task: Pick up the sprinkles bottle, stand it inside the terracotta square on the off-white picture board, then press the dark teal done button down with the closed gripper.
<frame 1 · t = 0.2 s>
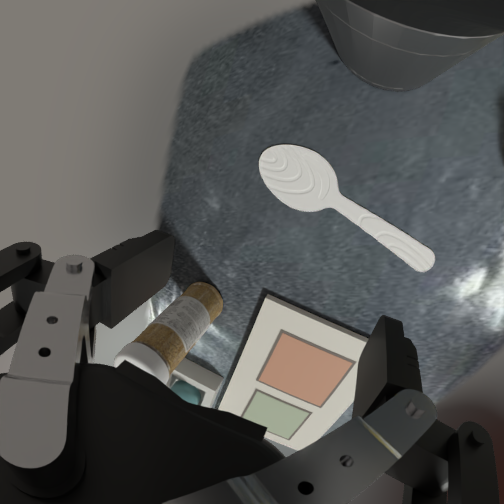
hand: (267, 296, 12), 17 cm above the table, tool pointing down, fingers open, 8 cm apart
button housing: (194, 380, 41), on the table
done button: (183, 396, 38), point 3 cm above the table, slide at 0.0 cm
spoon: (351, 208, 27), on the table
sprinkles bottle: (206, 297, 35), on the table
picture board: (291, 388, 36), on the table
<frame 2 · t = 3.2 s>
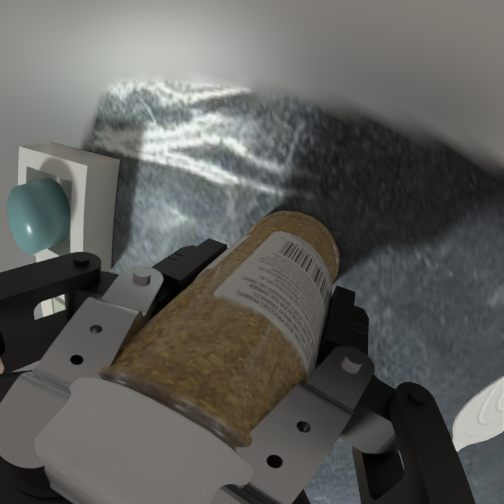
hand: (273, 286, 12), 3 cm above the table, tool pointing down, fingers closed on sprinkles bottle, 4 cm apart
button housing: (76, 202, 19), on the table
done button: (37, 215, 16), point 3 cm above the table, slide at 0.0 cm
spoon: (443, 448, 17), on the table
sprinkles bottle: (293, 255, 15), on the table, touching gripper
picture board: (148, 379, 22), on the table
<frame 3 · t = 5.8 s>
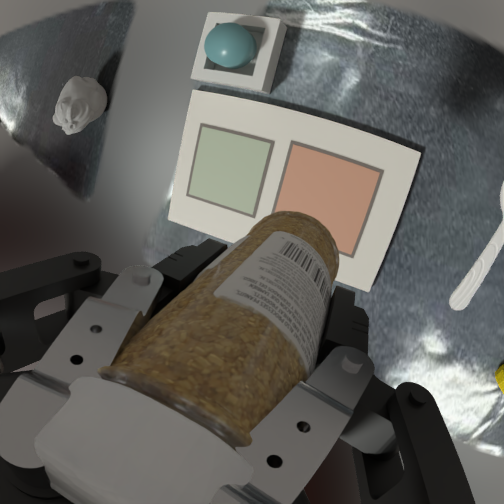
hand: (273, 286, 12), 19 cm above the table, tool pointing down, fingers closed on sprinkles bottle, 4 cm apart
button housing: (243, 54, 27), on the table
done button: (230, 45, 24), point 3 cm above the table, slide at 0.0 cm
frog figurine: (102, 104, 33), on the table
spoon: (498, 234, 25), on the table
sprinkles bottle: (293, 255, 15), point 15 cm above the table, touching gripper
picture board: (284, 184, 30), on the table
when the fingers open (6 cm above the table, at t = 8.6 s): sprinkles bottle drops 1 cm, resting on picture board.
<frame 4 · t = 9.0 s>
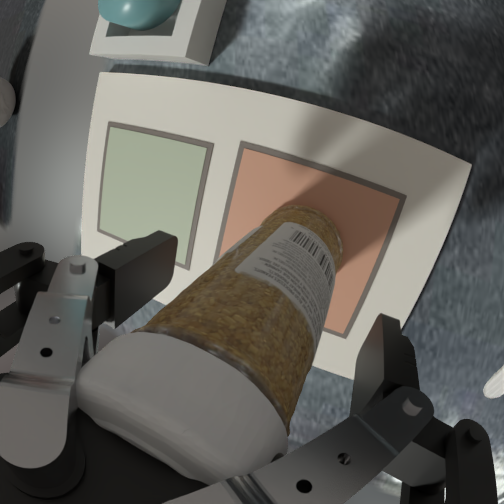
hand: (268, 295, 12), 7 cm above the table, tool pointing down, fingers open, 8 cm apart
button housing: (171, 10, 15), on the table
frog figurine: (14, 105, 22), on the table
sprinkles bottle: (301, 246, 17), point 1 cm above the table, touching picture board
picture board: (233, 217, 18), on the table
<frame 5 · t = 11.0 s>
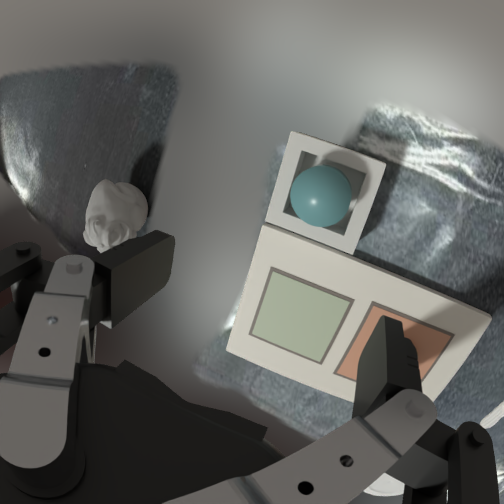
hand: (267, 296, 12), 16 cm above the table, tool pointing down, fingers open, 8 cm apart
button housing: (327, 188, 25), on the table
done button: (322, 194, 22), point 3 cm above the table, slide at 0.0 cm
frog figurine: (139, 206, 32), on the table
sprinkles bottle: (394, 356, 26), point 1 cm above the table, touching picture board
picture board: (355, 336, 28), on the table
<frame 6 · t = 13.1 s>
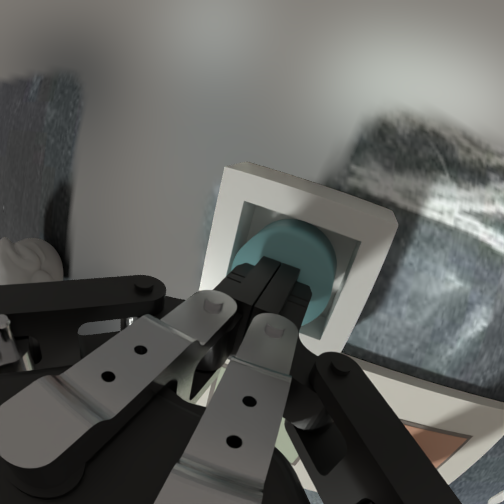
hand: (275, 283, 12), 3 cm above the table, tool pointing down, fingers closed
button housing: (297, 253, 16), on the table
done button: (286, 272, 13), point 2 cm above the table, slide at 0.9 cm, touching gripper
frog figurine: (58, 262, 22), on the table
picture board: (339, 438, 19), on the table
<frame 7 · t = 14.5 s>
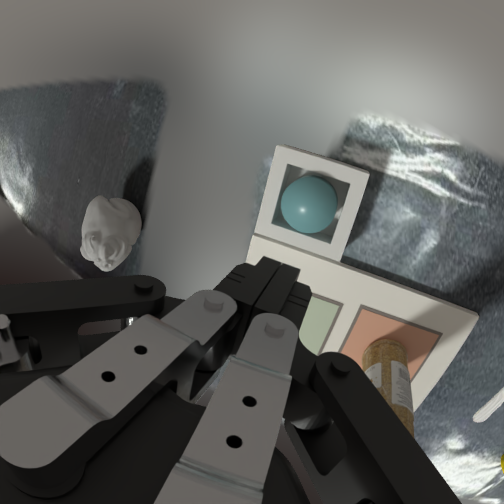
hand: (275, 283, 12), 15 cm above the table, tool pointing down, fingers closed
button housing: (314, 198, 26), on the table
done button: (310, 203, 24), point 2 cm above the table, slide at 1.1 cm
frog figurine: (133, 219, 32), on the table
sprinkles bottle: (385, 355, 28), point 1 cm above the table, touching picture board
picture board: (346, 338, 29), on the table
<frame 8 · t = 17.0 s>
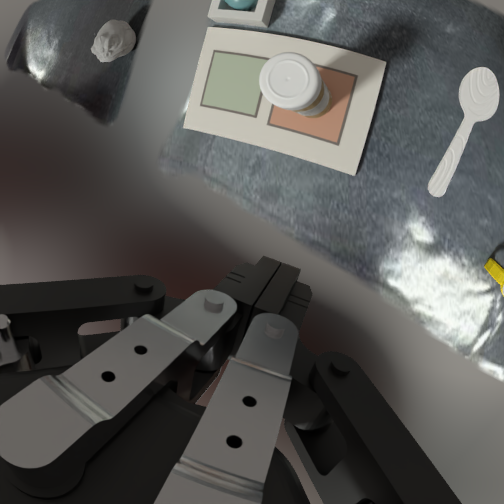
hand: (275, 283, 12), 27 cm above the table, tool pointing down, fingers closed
button housing: (247, 1, 31), on the table
watch: (495, 268, 33), on the table
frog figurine: (130, 45, 38), on the table
spoon: (463, 130, 30), on the table
sprinkles bottle: (313, 99, 33), point 1 cm above the table, touching picture board
picture board: (279, 92, 35), on the table
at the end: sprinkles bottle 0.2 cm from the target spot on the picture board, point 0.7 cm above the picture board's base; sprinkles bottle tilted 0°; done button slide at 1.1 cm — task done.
